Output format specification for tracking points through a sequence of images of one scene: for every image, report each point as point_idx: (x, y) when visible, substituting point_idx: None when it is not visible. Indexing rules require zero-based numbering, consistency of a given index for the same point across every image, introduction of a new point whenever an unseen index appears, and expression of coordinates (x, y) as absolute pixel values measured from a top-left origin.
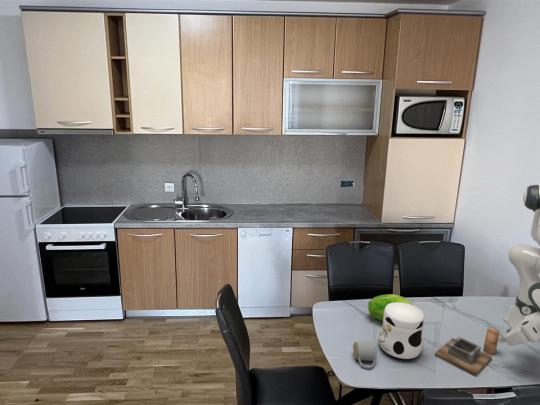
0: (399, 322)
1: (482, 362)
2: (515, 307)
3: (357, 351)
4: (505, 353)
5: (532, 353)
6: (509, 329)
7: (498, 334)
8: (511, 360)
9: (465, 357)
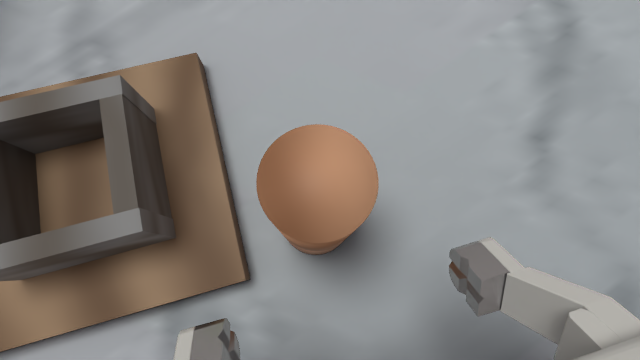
0: None
1: (117, 301)
2: None
3: None
4: (397, 276)
5: None
6: (478, 277)
7: (321, 243)
8: (366, 344)
9: None
